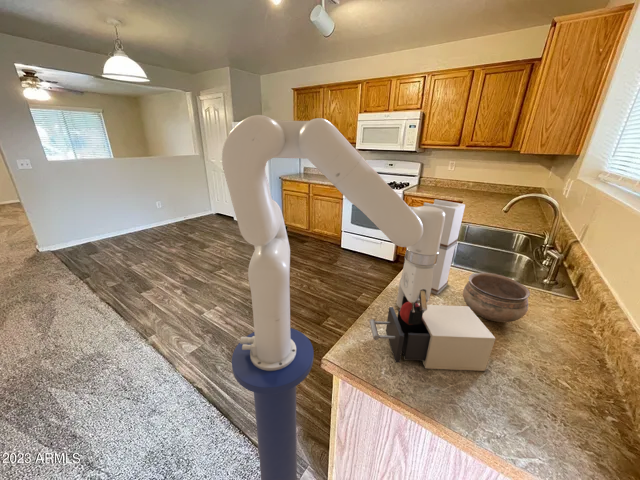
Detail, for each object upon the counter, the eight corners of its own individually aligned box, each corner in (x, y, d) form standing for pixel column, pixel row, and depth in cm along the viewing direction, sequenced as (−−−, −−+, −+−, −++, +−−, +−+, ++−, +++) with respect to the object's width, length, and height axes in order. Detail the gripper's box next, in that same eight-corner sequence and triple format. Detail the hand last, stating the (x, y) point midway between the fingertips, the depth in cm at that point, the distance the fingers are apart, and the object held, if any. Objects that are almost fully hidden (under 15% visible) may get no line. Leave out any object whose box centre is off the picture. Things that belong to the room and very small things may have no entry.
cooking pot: (514, 347, 78) (527, 313, 74) (448, 318, 90) (456, 287, 86) (526, 311, 96) (537, 282, 91) (470, 291, 108) (477, 264, 103)
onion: (404, 315, 78) (408, 291, 75) (423, 324, 74) (428, 300, 71) (394, 323, 74) (398, 299, 71) (413, 334, 70) (418, 308, 67)
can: (414, 315, 91) (420, 285, 87) (393, 308, 95) (397, 279, 91) (419, 305, 97) (425, 276, 93) (399, 299, 101) (403, 271, 97)
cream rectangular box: (425, 368, 70) (432, 335, 66) (410, 333, 83) (415, 304, 79) (485, 371, 70) (495, 338, 66) (460, 335, 83) (468, 306, 79)
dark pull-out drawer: (372, 361, 71) (376, 334, 68) (366, 330, 82) (369, 306, 79) (450, 365, 70) (457, 338, 67) (432, 332, 82) (437, 308, 79)
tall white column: (447, 285, 112) (465, 204, 99) (437, 294, 105) (455, 208, 92) (421, 275, 119) (435, 199, 107) (410, 284, 112) (423, 203, 100)
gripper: (397, 243, 74) (389, 297, 81) (416, 271, 58) (405, 337, 65) (424, 244, 74) (414, 298, 81) (451, 272, 58) (436, 338, 65)
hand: (410, 315), depth 73 cm, fingers closed on onion, 5 cm apart
